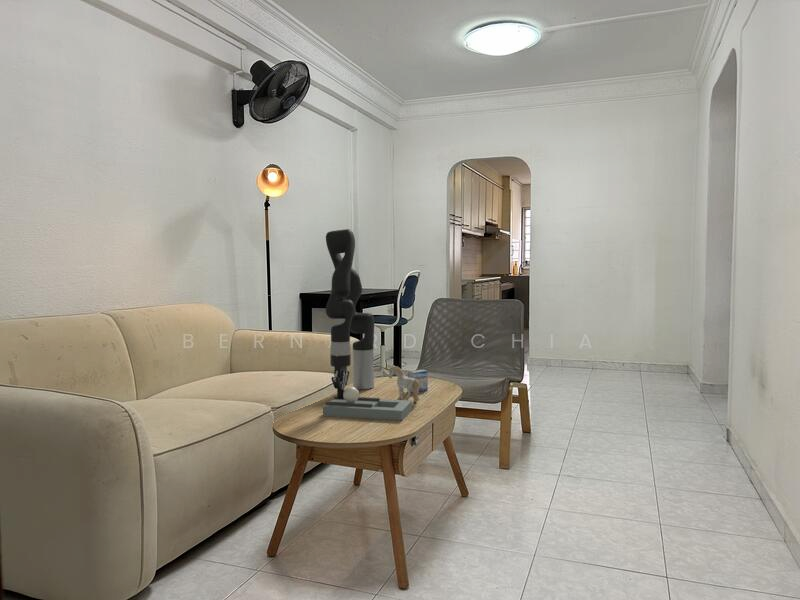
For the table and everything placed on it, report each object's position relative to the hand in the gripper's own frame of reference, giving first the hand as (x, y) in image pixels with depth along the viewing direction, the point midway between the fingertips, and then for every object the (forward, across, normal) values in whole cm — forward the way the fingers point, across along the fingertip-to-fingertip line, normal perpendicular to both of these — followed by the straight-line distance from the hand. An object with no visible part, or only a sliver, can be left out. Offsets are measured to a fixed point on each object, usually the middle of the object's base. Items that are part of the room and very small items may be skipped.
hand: (340, 398), depth 219 cm
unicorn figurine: (+5, -20, +18) cm, 27 cm away
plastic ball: (-2, 0, +4) cm, 4 cm away
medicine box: (+5, -40, +20) cm, 45 cm away
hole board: (+5, 0, +11) cm, 12 cm away
